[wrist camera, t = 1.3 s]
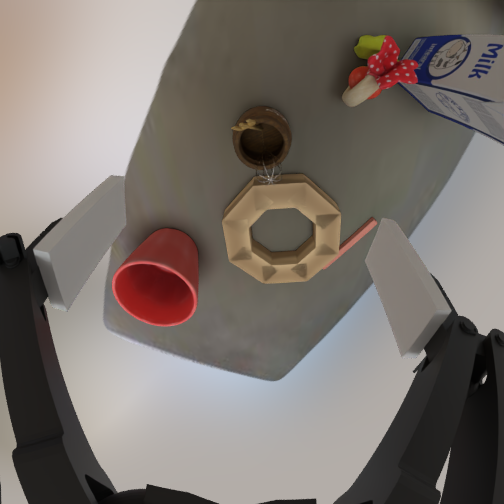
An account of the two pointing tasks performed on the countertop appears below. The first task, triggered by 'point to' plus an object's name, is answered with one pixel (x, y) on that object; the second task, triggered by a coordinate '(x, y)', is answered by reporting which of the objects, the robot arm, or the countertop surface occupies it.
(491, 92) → the milk carton
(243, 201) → the octagonal ring
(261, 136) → the utensil holder
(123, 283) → the flower pot
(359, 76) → the bird rattle
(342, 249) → the pink stick
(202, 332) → the countertop surface
